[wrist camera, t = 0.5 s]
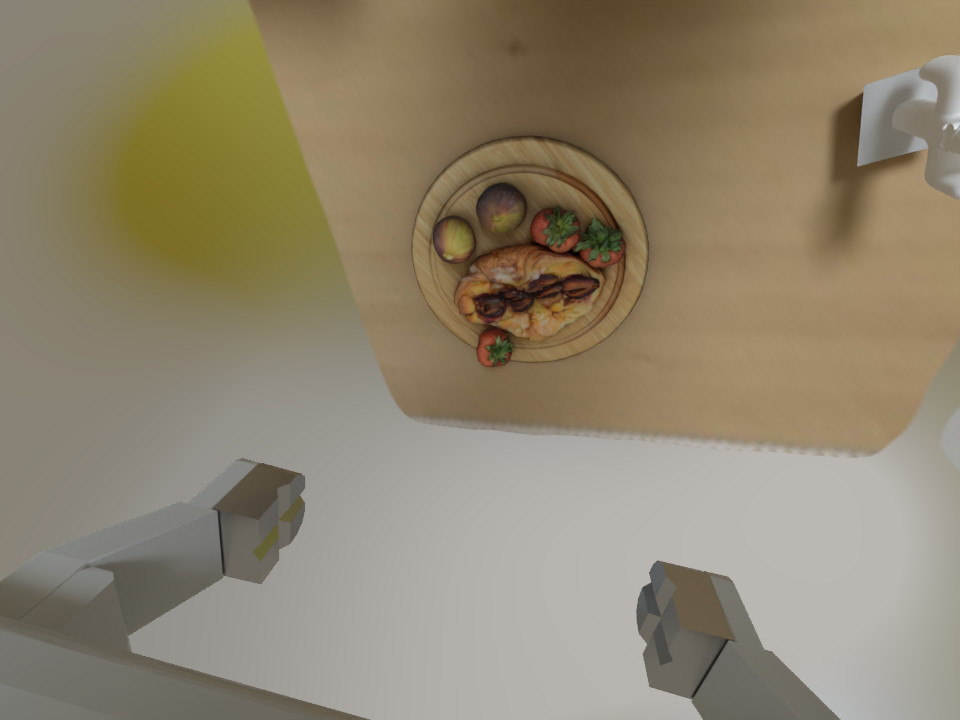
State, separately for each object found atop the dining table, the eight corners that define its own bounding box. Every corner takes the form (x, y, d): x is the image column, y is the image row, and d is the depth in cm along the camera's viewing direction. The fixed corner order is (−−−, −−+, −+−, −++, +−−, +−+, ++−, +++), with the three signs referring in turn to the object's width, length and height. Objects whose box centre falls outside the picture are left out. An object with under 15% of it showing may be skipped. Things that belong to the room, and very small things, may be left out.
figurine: (947, 34, 39) (1091, 40, 28) (929, 145, 44) (1046, 189, 32) (847, 68, 42) (940, 85, 30) (840, 168, 47) (919, 216, 35)
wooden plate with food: (550, 386, 74) (545, 421, 67) (382, 282, 69) (360, 309, 62) (705, 235, 54) (718, 264, 48) (487, 73, 49) (469, 81, 43)
